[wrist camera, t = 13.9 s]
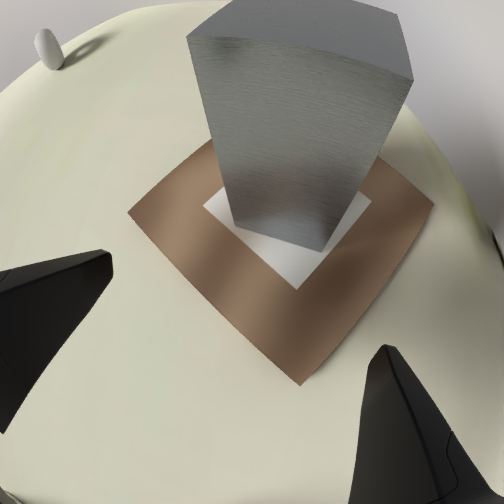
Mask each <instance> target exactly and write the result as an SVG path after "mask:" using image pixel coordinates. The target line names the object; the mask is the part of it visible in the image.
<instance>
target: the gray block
mask: <svg viewBox="0 0 504 504" xmlns="http://www.w3.org/2000/svg"><path fill="white" fill-rule="evenodd" d="M186 38H187V42H188V46H189V50H190V54H191V58H192V62H193V66H194V70H195V74H196V78H197V82H198V86H199V90H200V94H201V98H202V102H203V106H204V110H205V114H206V118H207V122H208V126H209V129H210V133H211V137H212V141H213V145H214V149H215V153H216V157H217V160H218V164H219V168H220V172H221V176H222V179H223V183H224V187H225V191H226V195H227V198H228V202H229V206H230V210H231V213H232V217H233V221H234V225H235V227H239V228H242V229H245V230H249V231H252V232H255V233H259V234H262V235H265V236H268V237H272V238H275V239H278V240H282V241H285V242H288V243H291V244H294V245H298V246H301V247H304V248H307V249H310V250H314V251H317V252H320V253H321V252H322V250H323V249H324V247H325V246H326V244H327V242H328V241H329V239H330V237H331V236H332V234H333V233H334V231H335V229H336V228H337V226H338V224H339V223H340V221H341V219H342V217H343V216H344V214H345V212H346V211H347V209H348V207H349V205H350V204H351V202H352V200H353V198H354V197H355V195H356V193H357V191H358V190H359V188H360V186H361V184H362V183H363V181H364V179H365V177H366V175H367V173H368V172H369V170H370V168H371V166H372V164H373V162H374V161H375V159H376V157H377V155H378V153H379V151H380V149H381V147H382V145H383V143H384V141H385V140H386V138H387V136H388V134H389V132H390V130H391V128H392V126H393V124H394V122H395V120H396V118H397V116H398V113H399V111H400V109H401V107H402V105H403V103H404V101H405V99H406V97H407V95H408V92H409V90H410V88H411V86H412V84H413V81H414V79H413V74H412V69H411V65H410V60H409V55H408V52H407V47H406V43H405V40H404V36H403V33H402V29H401V26H400V22H399V19H398V16H397V14H394V13H391V12H388V11H386V10H383V9H380V8H377V7H374V6H370V5H367V4H363V3H360V2H356V1H353V0H233V1H231V2H230V3H229V4H227V5H226V6H224V7H223V8H222V9H220V10H219V11H217V12H216V13H215V14H213V15H212V16H211V17H209V18H208V19H207V20H206V21H204V22H203V23H202V24H201V25H199V26H198V27H197V28H196V29H194V30H193V31H192V32H191V33H190V34H189V35H187V36H186Z"/></svg>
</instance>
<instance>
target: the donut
mask: <svg viewBox="0 0 504 504" xmlns="http://www.w3.org/2000/svg"><path fill="white" fill-rule="evenodd" d="M34 43H35V47H36V50H37V52H38V54H39V57H40V58H41V60H42V62H43V63H44V65H45V66H46V67H47V68H48V69H50V70H57V69H59V68H60V67H61V66H62V65H63V62H64V56H63V53H62V50H61V48H60V46H59V44H58V41H57V39H56V38H55V36H54V35H53V33H52V32H51V31H50V30H49V29H43V30H42V31H40V32H38V33H37V35H36V36H35V42H34Z"/></svg>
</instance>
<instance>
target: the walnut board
mask: <svg viewBox="0 0 504 504" xmlns="http://www.w3.org/2000/svg"><path fill="white" fill-rule="evenodd" d="M433 206H434V204H433V203H432V202H431V201H430V200H429V199H428V198H427V197H426V196H425V195H424V194H423V193H422V192H420V191H419V190H418V189H417V188H416V187H415V186H414V185H413V184H411V183H410V182H409V181H408V180H407V179H406V178H404V177H403V176H402V175H401V174H400V173H398V172H397V171H396V170H395V169H393V168H392V167H391V166H390V165H388V164H387V163H386V162H385V161H383V160H382V159H381V158H380V157H378V156H377V157H376V159H375V161H374V162H373V164H372V166H371V168H370V170H369V172H368V173H367V175H366V177H365V179H364V181H363V183H362V184H361V186H360V188H359V190H358V191H357V193H356V195H355V197H354V198H353V200H352V202H351V204H350V205H349V207H348V209H347V211H346V212H345V214H344V216H343V217H342V219H341V221H340V223H339V224H338V226H337V228H336V229H335V231H334V233H333V234H332V236H331V237H330V239H329V241H328V242H327V244H326V246H325V247H324V249H323V250H322V252H321V253H320V252H317V251H314V250H310V249H307V248H304V247H301V246H298V245H294V244H291V243H288V242H285V241H282V240H278V239H275V238H272V237H268V236H265V235H262V234H259V233H255V232H252V231H249V230H245V229H242V228H239V227H235V225H234V221H233V217H232V213H231V210H230V206H229V202H228V198H227V195H226V191H225V187H224V183H223V179H222V176H221V172H220V168H219V164H218V160H217V157H216V153H215V149H214V145H213V141H212V139H210V140H209V141H208V142H206V143H205V144H204V145H203V146H201V147H200V148H199V149H198V150H196V151H195V152H194V153H193V154H191V155H190V156H189V157H188V158H187V159H185V160H184V161H183V162H182V163H181V164H179V165H178V166H177V167H176V168H175V169H174V170H172V171H171V172H170V173H169V174H168V175H167V176H166V177H165V178H163V179H162V180H161V181H160V182H159V183H158V184H157V185H156V186H155V187H153V188H152V189H151V190H150V191H149V192H148V193H147V194H146V195H145V196H144V197H143V198H142V199H141V200H140V201H138V202H137V203H136V204H135V205H134V206H133V207H132V208H131V209H130V210H129V211H128V212H127V213H128V214H129V215H130V216H131V218H132V219H133V220H134V221H135V222H136V223H137V225H138V226H139V227H140V228H141V229H142V230H143V232H144V233H145V234H146V235H147V236H148V237H149V238H150V239H151V241H152V242H153V243H154V244H155V245H156V246H157V247H158V248H159V250H160V251H161V252H162V253H163V254H164V255H165V256H166V257H167V258H168V259H169V260H170V262H171V263H172V264H173V265H174V266H175V267H176V268H177V269H178V270H179V271H180V272H181V273H182V274H183V275H184V277H185V278H186V279H187V280H188V281H189V282H190V283H191V284H192V285H193V286H194V287H195V288H196V289H197V290H198V291H199V292H200V293H201V294H202V295H203V296H204V297H205V298H206V299H207V300H208V301H209V302H210V303H211V304H212V305H213V306H214V307H215V308H216V309H217V310H218V311H219V312H220V313H221V314H222V315H223V316H224V317H225V318H226V319H227V320H228V321H229V322H230V323H231V324H232V325H233V326H234V327H235V328H236V329H237V330H238V331H239V332H240V333H241V334H242V335H243V336H245V337H246V338H247V339H248V340H249V341H250V342H251V343H252V344H253V345H254V346H255V347H256V348H257V349H258V350H260V351H261V352H262V353H263V354H264V355H265V356H266V357H267V358H268V359H269V360H271V361H272V362H273V363H274V364H275V365H276V366H277V367H278V368H280V369H281V370H282V371H283V372H284V373H285V374H286V375H287V376H289V377H290V378H291V379H292V380H293V381H294V382H296V383H297V384H298V385H299V386H301V385H302V384H303V383H304V382H305V381H306V380H307V379H308V378H309V376H310V375H311V374H312V373H313V372H314V371H315V370H316V369H317V368H318V367H319V366H320V365H321V363H322V362H323V361H324V360H325V359H326V358H327V357H328V356H329V355H330V353H331V352H332V351H333V350H334V349H335V348H336V346H337V345H338V344H339V343H340V342H341V341H342V339H343V338H344V337H345V336H346V335H347V333H348V332H349V331H350V330H351V328H352V327H353V326H354V325H355V323H356V322H357V321H358V320H359V318H360V317H361V316H362V315H363V313H364V312H365V311H366V309H367V308H368V307H369V305H370V304H371V303H372V301H373V300H374V299H375V297H376V296H377V295H378V293H379V292H380V290H381V289H382V288H383V286H384V285H385V283H386V282H387V280H388V279H389V278H390V276H391V275H392V273H393V272H394V270H395V269H396V267H397V266H398V264H399V263H400V261H401V260H402V258H403V257H404V255H405V253H406V252H407V250H408V249H409V247H410V245H411V244H412V242H413V241H414V239H415V237H416V236H417V234H418V232H419V231H420V229H421V227H422V225H423V224H424V222H425V220H426V218H427V217H428V215H429V213H430V211H431V209H432V208H433Z"/></svg>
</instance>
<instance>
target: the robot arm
mask: <svg viewBox="0 0 504 504" xmlns="http://www.w3.org/2000/svg"><path fill="white" fill-rule="evenodd" d="M112 278H113V263H112V255H111V253H109V252H107V251H105V250H102V249H99V250H94V251H89V252H84V253H80V254H75V255H70V256H66V257H61V258H56V259H52V260H48V261H43V262H39V263H34V264H30V265H26V266H22V267H17V268H13V269H9V270H5V271H1V272H0V432H1V433H2V434H4V433H5V431H6V430H7V428H8V426H9V424H10V423H11V421H12V419H13V418H14V416H15V414H16V413H17V411H18V409H19V408H20V406H21V405H22V403H23V401H24V400H25V398H26V397H27V395H28V393H29V392H30V390H31V389H32V387H33V386H34V384H35V383H36V382H37V380H38V379H39V377H40V376H41V374H42V373H43V371H44V370H45V369H46V367H47V366H48V364H49V363H50V362H51V360H52V359H53V358H54V356H55V355H56V354H57V352H58V351H59V350H60V348H61V347H62V346H63V344H64V343H65V342H66V340H67V339H68V338H69V336H70V335H71V334H72V333H73V331H74V330H75V329H76V328H77V326H78V325H79V324H80V323H81V321H82V320H83V319H84V318H85V316H86V315H87V314H88V313H89V311H90V310H91V309H92V307H93V306H94V304H95V303H96V301H97V300H98V298H99V297H100V295H101V294H102V293H103V291H104V290H105V288H106V287H107V285H108V284H109V283H110V281H111V280H112ZM0 504H16V503H15V502H14V501H13V500H12V499H11V498H10V497H9V496H8V495H7V494H6V492H5V491H4V490H3V489H2V488H1V487H0ZM348 504H504V497H502V496H500V495H498V494H496V493H495V492H494V491H493V490H492V489H491V488H490V487H489V485H488V484H487V482H486V481H485V479H484V478H483V477H482V475H481V474H480V472H479V471H478V469H477V468H476V466H475V465H474V464H473V462H472V461H471V459H470V458H469V456H468V455H467V453H466V452H465V450H464V449H463V447H462V445H461V444H460V442H459V441H458V439H457V437H456V436H455V434H454V432H453V431H451V428H450V426H449V425H448V423H447V421H446V420H445V418H444V417H443V415H442V414H441V412H440V410H439V409H438V407H437V406H436V404H435V403H434V401H433V400H432V398H431V397H430V395H429V394H428V392H427V391H426V389H425V388H424V386H423V385H422V384H421V382H420V381H419V379H418V378H417V376H416V375H415V373H414V372H413V371H412V369H411V368H410V366H409V365H408V364H407V362H406V361H405V359H404V358H403V357H402V355H401V354H400V352H399V351H398V350H397V348H396V347H394V346H390V345H386V344H384V345H382V346H381V347H380V348H379V350H378V351H377V353H376V354H375V356H374V357H373V358H372V360H371V361H370V363H369V366H368V370H367V377H366V384H365V390H364V396H363V401H362V407H361V415H360V426H359V437H358V446H357V454H356V461H355V468H354V474H353V480H352V486H351V491H350V497H349V502H348Z"/></svg>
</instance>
